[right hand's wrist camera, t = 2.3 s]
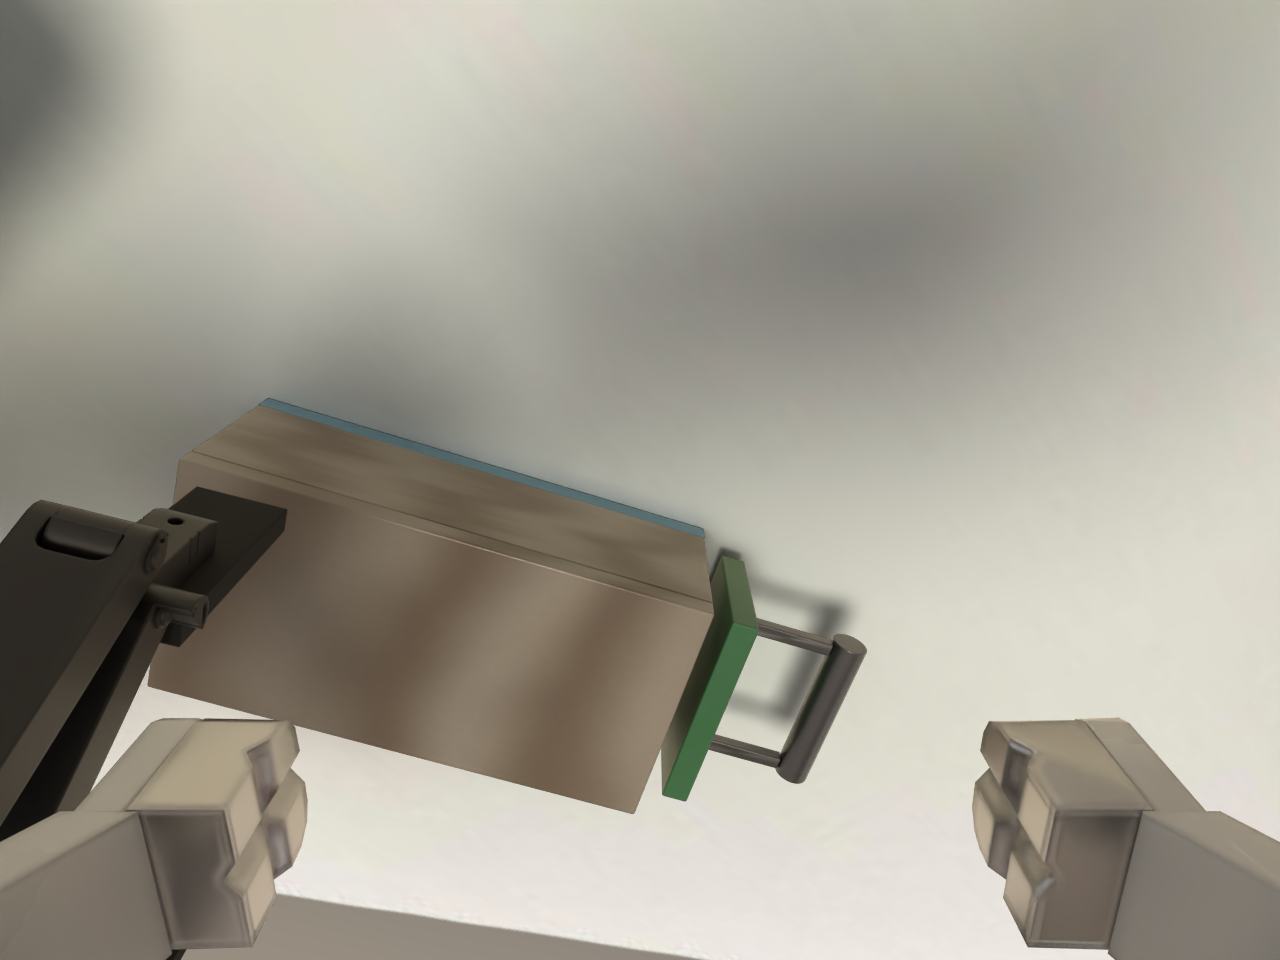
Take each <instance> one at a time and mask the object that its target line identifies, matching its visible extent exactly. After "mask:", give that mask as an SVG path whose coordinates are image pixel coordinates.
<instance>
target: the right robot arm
mask: <svg viewBox="0 0 1280 960" xmlns="http://www.w3.org/2000/svg"><path fill="white" fill-rule="evenodd" d="M299 751H300V750H299V745H298V740H297V735H296V730H295V727H294V726H293V725H292V724H291V723H290V722H289V721H288V720H252V719H199V718H163V719H160V720H157V721H154V722H151V723H150V724H149V726H148V727H147V728H146V729H145V730H144V731H143V732H142V734H141V735H140V736H139V737H138V738H137V739H136V740H135V742H134V743H133V744H132V745H131V746H130V747H129V748H128V750H127V751H126V752H125V753H124V754H123V755H122V756H121V758H120V759H119V760H118V761H117V762H116V763H115V765H114V766H113V767H112V768H111V769H110V770H109V771H108V773H107V774H106V775H105V776H104V777H103V778H102V779H101V781H100V782H99V783H98V784H97V785H96V786H95V787H94V789H93V790H92V791H91V792H90V793H89V794H88V795H87V797H86V798H85V799H84V800H83V801H82V802H81V804H80V805H79V806H78V807H77V808H76V809H75V810H74V811H59V812H58V813H56V814H54V815H52V816H50V817H48V818H46V819H44V820H42V821H40V822H38V823H36V824H34V825H32V826H30V827H29V828H27V829H25V830H23V831H21V832H19V833H17V834H15V835H13V836H11V837H9V838H7V839H5V840H3V841H1V842H0V960H166V959H167V958H168V957H169V956H170V955H171V954H172V951H171V950H175V949H208V948H243V947H253V945H254V942H255V940H256V938H257V936H258V934H259V932H260V930H261V928H262V926H263V924H264V922H265V920H266V918H267V916H268V914H269V912H270V910H271V908H272V906H273V904H274V902H275V900H276V898H277V896H276V890H275V885H274V879H275V878H277V877H278V876H279V875H281V874H282V873H284V872H285V871H286V870H288V869H289V868H290V867H292V865H293V863H294V861H295V859H296V857H297V855H298V852H299V850H300V848H301V846H302V841H303V837H304V832H305V828H306V823H307V794H306V787H305V782H304V781H303V780H302V779H301V778H300V777H299V776H298V775H297V774H296V773H295V772H294V771H293V770H292V769H291V768H290V767H291V765H292V764H293V762H294V760H295V758H296V757H297V755H298V753H299ZM980 751H981V753H982V755H983V757H984V758H985V760H986V762H987V764H988V765H989V767H990V768H989V769H988V770H987V771H986V772H985V773H984V774H983V775H982V776H981V777H980V778H979V779H978V780H977V781H976V782H975V788H974V796H973V804H972V809H973V820H974V831H975V834H976V838H977V841H978V845H979V848H980V850H981V853H982V855H983V857H984V859H985V861H986V863H987V865H988V867H989V868H991V869H992V870H994V871H995V872H996V873H998V874H999V875H1001V876H1002V877H1003V878H1005V879H1006V885H1005V890H1004V896H1003V898H1004V900H1005V902H1006V904H1007V906H1008V908H1009V910H1010V912H1011V914H1012V916H1013V918H1014V920H1015V922H1016V924H1017V926H1018V928H1019V930H1020V932H1021V934H1022V936H1023V938H1024V940H1025V942H1026V944H1027V946H1028V947H1035V948H1070V949H1105V950H1108V954H1109V955H1110V956H1111V957H1113V958H1114V959H1115V960H1280V842H1278V841H1276V840H1275V839H1273V838H1271V837H1269V836H1267V835H1265V834H1263V833H1261V832H1259V831H1257V830H1255V829H1253V828H1251V827H1249V826H1248V825H1246V824H1244V823H1242V822H1240V821H1238V820H1236V819H1234V818H1232V817H1230V816H1228V815H1226V814H1224V813H1222V812H1221V811H1206V810H1205V809H1204V808H1203V807H1202V806H1201V805H1200V804H1199V802H1198V801H1197V800H1196V799H1195V798H1194V797H1193V796H1192V794H1191V793H1190V792H1189V791H1188V790H1187V789H1186V788H1185V786H1184V785H1183V784H1182V783H1181V782H1180V781H1179V779H1178V778H1177V777H1176V776H1175V775H1174V774H1173V773H1172V771H1171V770H1170V769H1169V768H1168V767H1167V766H1166V765H1165V763H1164V762H1163V761H1162V760H1161V759H1160V758H1159V757H1158V755H1157V754H1156V753H1155V752H1154V751H1153V750H1152V749H1151V747H1150V746H1149V745H1148V744H1147V743H1146V742H1145V741H1144V739H1143V738H1142V737H1141V736H1140V735H1139V734H1138V732H1137V731H1136V730H1135V729H1134V728H1133V727H1132V726H1131V724H1130V723H1128V722H1126V721H1124V720H1122V719H1120V718H1096V719H1075V720H1057V721H989V723H988V725H987V726H986V728H985V730H984V732H983V738H982V744H981V749H980Z"/></svg>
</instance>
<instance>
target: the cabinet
mask: <svg viewBox="0 0 1280 960" xmlns="http://www.w3.org/2000/svg"><path fill="white" fill-rule="evenodd" d="M197 486H198V487H202V488H206V489H210V490H214V491H218V492H222V493H226V494H230V495H234V496H238V497H242V498H246V499H249V500H253V501H257V502H261V503H265V504H269V505H273V506H277V507H281V508H285V509H288V511H287V517H286V524H285V531H284V532H283V533H282V534H281V535H280V536H279V538H278V539H277V540H276V541H275V542H274V543H273V544H272V545H271V546H270V548H269V549H268V550H267V551H266V552H265V553H264V554H263V555H262V556H261V558H260V559H259V560H258V561H257V562H256V563H255V564H254V565H253V566H252V567H251V569H250V570H249V571H248V572H247V573H246V574H245V575H244V576H243V577H242V579H241V580H240V581H239V582H238V583H237V584H236V585H235V586H234V587H233V589H232V590H231V591H230V592H229V593H228V594H227V595H226V596H225V597H224V598H223V600H222V601H221V602H220V603H219V604H218V605H217V606H216V607H215V608H214V610H213V611H212V612H211V613H210V614H209V615H208V616H207V620H206V622H205V625H204V628H203V630H202V629H198V628H196V629H195V631H194V632H193V633H192V634H191V635H190V636H189V637H188V638H187V639H186V641H185V642H184V643H183V644H182V645H181V646H180V647H176V646H171V645H167V644H163V643H159V646H158V648H157V650H156V652H155V654H154V656H153V658H152V661H151V664H150V671H149V678H148V686H149V687H152V688H156V689H159V690H163V691H167V692H171V693H175V694H178V695H182V696H186V697H190V698H194V699H197V700H201V701H205V702H209V703H213V704H216V705H220V706H224V707H228V708H232V709H235V710H239V711H243V712H247V713H251V714H254V715H258V716H262V717H266V718H270V719H273V720H288V721H289V722H290V723H291V724H292V725H296V726H300V727H304V728H308V729H311V730H315V731H319V732H323V733H327V734H330V735H334V736H338V737H342V738H345V739H349V740H353V741H357V742H361V743H364V744H368V745H372V746H376V747H380V748H383V749H387V750H391V751H395V752H399V753H402V754H406V755H410V756H414V757H418V758H421V759H425V760H429V761H433V762H437V763H440V764H444V765H448V766H452V767H456V768H459V769H463V770H467V771H471V772H475V773H478V774H482V775H486V776H490V777H494V778H497V779H501V780H505V781H509V782H513V783H516V784H520V785H524V786H528V787H532V788H535V789H539V790H543V791H547V792H550V793H554V794H558V795H562V796H566V797H569V798H573V799H577V800H581V801H585V802H588V803H592V804H596V805H600V806H604V807H607V808H611V809H615V810H619V811H623V812H626V813H630V814H634V813H635V811H636V808H637V806H638V803H639V801H640V798H641V796H642V794H643V791H644V789H645V786H646V784H647V781H648V779H649V776H650V774H651V771H652V769H653V766H654V764H655V761H656V759H657V756H658V754H659V751H660V749H661V746H662V744H663V741H664V739H665V736H666V734H667V731H668V729H669V726H670V724H671V721H672V719H673V716H674V714H675V711H676V709H677V706H678V704H679V701H680V699H681V696H682V694H683V691H684V689H685V686H686V684H687V681H688V679H689V676H690V674H691V671H692V669H693V666H694V664H695V662H696V659H697V657H698V654H699V652H700V649H701V647H702V644H703V642H704V639H705V637H706V634H707V632H708V629H709V627H710V624H711V622H712V619H713V617H714V611H713V602H712V595H711V588H710V580H709V573H708V566H707V558H706V551H705V544H704V531H703V529H702V528H699V527H695V526H692V525H689V524H685V523H682V522H679V521H675V520H672V519H669V518H665V517H662V516H659V515H655V514H652V513H649V512H645V511H642V510H639V509H635V508H632V507H629V506H625V505H622V504H619V503H615V502H612V501H609V500H605V499H602V498H599V497H595V496H592V495H589V494H585V493H582V492H579V491H575V490H572V489H569V488H565V487H562V486H559V485H555V484H552V483H549V482H545V481H542V480H539V479H535V478H532V477H529V476H525V475H522V474H519V473H515V472H512V471H509V470H505V469H502V468H499V467H495V466H492V465H489V464H486V463H482V462H479V461H476V460H472V459H469V458H466V457H462V456H459V455H456V454H452V453H449V452H446V451H442V450H439V449H436V448H432V447H429V446H426V445H422V444H419V443H416V442H412V441H409V440H406V439H402V438H399V437H396V436H392V435H389V434H386V433H382V432H379V431H376V430H372V429H369V428H366V427H362V426H359V425H356V424H352V423H349V422H346V421H342V420H339V419H336V418H332V417H329V416H326V415H322V414H319V413H316V412H312V411H309V410H306V409H302V408H299V407H296V406H292V405H289V404H286V403H282V402H279V401H276V400H272V399H269V398H268V399H266V400H265V401H263V402H262V403H260V404H259V406H257V407H256V408H254V409H253V410H251V411H250V412H248V413H247V414H245V415H244V416H243V417H241V418H240V419H238V420H237V421H235V422H234V423H232V424H231V425H229V426H228V427H226V428H225V429H223V430H222V431H220V432H219V433H217V434H216V435H214V436H213V437H211V438H210V439H208V440H207V441H206V442H204V443H203V444H201V445H200V446H198V447H197V448H195V449H194V450H192V452H190V453H188V454H187V455H185V456H184V457H182V458H181V459H180V460H179V465H178V472H177V479H176V486H175V493H174V500H173V505H174V504H175V503H176V502H178V501H179V500H180V499H181V498H183V497H184V496H185V495H186V494H188V493H189V492H190V491H192V490H193V489H194V488H195V487H197Z"/></svg>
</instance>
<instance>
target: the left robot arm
mask: <svg viewBox="0 0 1280 960" xmlns="http://www.w3.org/2000/svg"><path fill="white" fill-rule="evenodd" d="M287 511H288V509H285V508H281V507H277V506H273V505H269V504H265V503H261V502H257V501H253V500H249V499H246V498H242V497H238V496H234V495H230V494H226V493H222V492H218V491H214V490H210V489H206V488H202V487H198V486H197V487H195V488H194V489H193V490H192V491H190V492H189V493H188V494H186V495H185V496H184V497H183V498H181V499H180V500H179V501H178V502H176V503H175V504H174V505H173V506H171V507H170V508H169V509H165V508H160V509H153V510H152V511H151V512H150V513H148V514H147V515H146V516H144V517H143V519H140V520H139V521H138V522H136V523H135V522H131V521H127V520H123V519H119V518H115V517H110V516H106V515H102V514H98V513H94V512H90V511H86V510H82V509H78V508H74V507H69V506H65V505H61V504H57V503H53V502H49V501H44V500H40V501H38V502H36V503H34V504H33V505H32V506H31V507H30V508H28V509H27V510H26V512H25V513H24V514H23V516H22V517H21V518H20V519H19V521H18V522H17V523H16V524H15V526H14V527H13V528H12V529H11V531H10V532H9V533H8V534H7V536H6V537H5V538H4V539H3V541H2V542H1V543H0V842H1V841H3V840H5V839H7V838H9V837H11V836H13V835H15V834H17V833H19V832H21V831H23V830H25V829H27V828H29V827H30V826H32V825H34V824H36V823H38V822H40V821H42V820H44V819H46V818H48V817H50V816H52V815H54V814H56V813H58V812H59V811H74V810H75V809H76V808H77V807H78V806H79V805H80V804H81V802H82V801H83V800H84V799H85V798H86V797H87V795H88V794H89V793H90V791H91V789H92V787H93V785H94V783H95V780H96V778H97V776H98V774H99V772H100V770H101V768H102V765H103V763H104V761H105V759H106V757H107V755H108V753H109V750H110V748H111V746H112V744H113V742H114V740H115V738H116V735H117V733H118V731H119V729H120V727H121V725H122V723H123V720H124V718H125V716H126V714H127V712H128V710H129V708H130V705H131V703H132V701H133V699H134V697H135V695H136V693H137V690H138V688H139V686H140V684H141V682H142V680H143V678H144V676H145V673H146V671H147V669H148V667H149V665H150V663H151V661H152V658H153V656H154V654H155V652H156V650H157V648H158V646H159V643H163V644H167V645H171V646H176V647H180V646H181V645H182V644H183V643H184V642H185V641H186V639H187V638H188V637H189V636H190V635H191V634H192V633H193V632H194V631H195V629H196V628H198V629H202V630H203V628H204V625H205V622H206V620H207V616H208V615H209V614H210V613H211V612H212V611H213V610H214V608H215V607H216V606H217V605H218V604H219V603H220V602H221V601H222V600H223V598H224V597H225V596H226V595H227V594H228V593H229V592H230V591H231V590H232V589H233V587H234V586H235V585H236V584H237V583H238V582H239V581H240V580H241V579H242V577H243V576H244V575H245V574H246V573H247V572H248V571H249V570H250V569H251V567H252V566H253V565H254V564H255V563H256V562H257V561H258V560H259V559H260V558H261V556H262V555H263V554H264V553H265V552H266V551H267V550H268V549H269V548H270V546H271V545H272V544H273V543H274V542H275V541H276V540H277V539H278V538H279V536H280V535H281V534H282V533H283V532H284V531H285V524H286V517H287ZM171 951H172V954H171V955H170V956H169V957H168V958H167V959H166V960H181V958H182V956H183V955H184V953H185V951H186V949H175V950H171Z"/></svg>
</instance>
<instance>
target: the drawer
mask: <svg viewBox="0 0 1280 960" xmlns="http://www.w3.org/2000/svg"><path fill="white" fill-rule="evenodd" d="M710 588H711V595H712V602H713V611H714V617H713V619H712V622H711V624H710V627H709V629H708V632H707V634H706V637H705V639H704V642H703V644H702V647H701V649H700V652H699V654H698V657H697V659H696V662H695V664H694V666H693V669H692V671H691V674H690V676H689V679H688V681H687V684H686V686H685V689H684V691H683V694H682V696H681V699H680V701H679V704H678V706H677V709H676V711H675V714H674V716H673V719H672V721H671V724H670V726H669V729H668V731H667V734H666V736H665V739H664V741H663V744H662V746H661V760H662V795H663V796H666V797H670V798H674V799H678V800H681V801H686V800H687V798H688V796H689V794H690V791H691V789H692V787H693V784H694V782H695V780H696V777H697V775H698V772H699V770H700V768H701V765H702V763H703V761H704V758H705V756H706V754H707V751H708V750H712V751H715V752H719V753H723V754H726V755H730V756H734V757H737V758H741V759H745V760H748V761H752V762H756V763H759V764H763V765H766V766H770V767H774V768H775V769H776V771H777V773H778V774H779V775H780V776H781V777H782V778H783V779H785V780H787V781H789V782H791V783H796V784H800V783H803V782H804V781H805V779H806V777H807V775H808V773H809V771H810V769H811V767H812V765H813V763H814V761H815V759H816V757H817V754H818V752H819V750H820V748H821V746H822V744H823V742H824V740H825V738H826V736H827V734H828V732H829V730H830V727H831V725H832V723H833V721H834V719H835V717H836V715H837V713H838V711H839V709H840V707H841V705H842V703H843V700H844V698H845V696H846V694H847V692H848V690H849V688H850V686H851V684H852V682H853V680H854V678H855V676H856V673H857V671H858V669H859V667H860V665H861V663H862V661H863V659H864V657H865V655H866V653H867V649H866V647H865V646H864V645H863V644H862V643H861V642H860V641H859V640H857V639H855V638H853V637H851V636H848V635H845V634H837V635H835V636H834V638H833V640H830V639H827V638H824V637H820V636H817V635H814V634H810V633H807V632H803V631H800V630H796V629H793V628H790V627H786V626H783V625H779V624H776V623H772V622H769V621H766V620H762V619H759V618H756V614H755V609H754V605H753V600H752V596H751V591H750V587H749V583H748V578H747V574H746V569H745V565H744V562H743V561H740V560H736V559H733V558H729V557H726V556H721V558H720V561H719V563H718V566H717V568H716V571H715V573H714V576H713V578H712V581H711V583H710ZM757 635H758V636H762V637H765V638H769V639H772V640H776V641H779V642H783V643H786V644H789V645H793V646H796V647H800V648H803V649H807V650H810V651H814V652H817V653H821V654H824V655H826V656H825V658H824V660H823V662H822V664H821V666H820V668H819V671H818V673H817V675H816V677H815V679H814V681H813V684H812V686H811V688H810V690H809V692H808V694H807V697H806V699H805V701H804V703H803V705H802V707H801V710H800V712H799V714H798V716H797V718H796V720H795V723H794V725H793V727H792V729H791V731H790V733H789V736H788V738H787V740H786V742H785V744H784V746H783V749H782V751H781V753H779V752H777V751H774V750H770V749H766V748H763V747H759V746H756V745H752V744H748V743H745V742H741V741H737V740H734V739H730V738H727V737H723V736H719V735H716V734H715V733H716V730H717V728H718V725H719V723H720V721H721V718H722V716H723V714H724V711H725V709H726V707H727V704H728V702H729V700H730V697H731V695H732V693H733V690H734V688H735V686H736V683H737V681H738V678H739V676H740V674H741V671H742V669H743V667H744V664H745V662H746V660H747V657H748V655H749V653H750V650H751V648H752V646H753V643H754V641H755V639H756V636H757Z"/></svg>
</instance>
